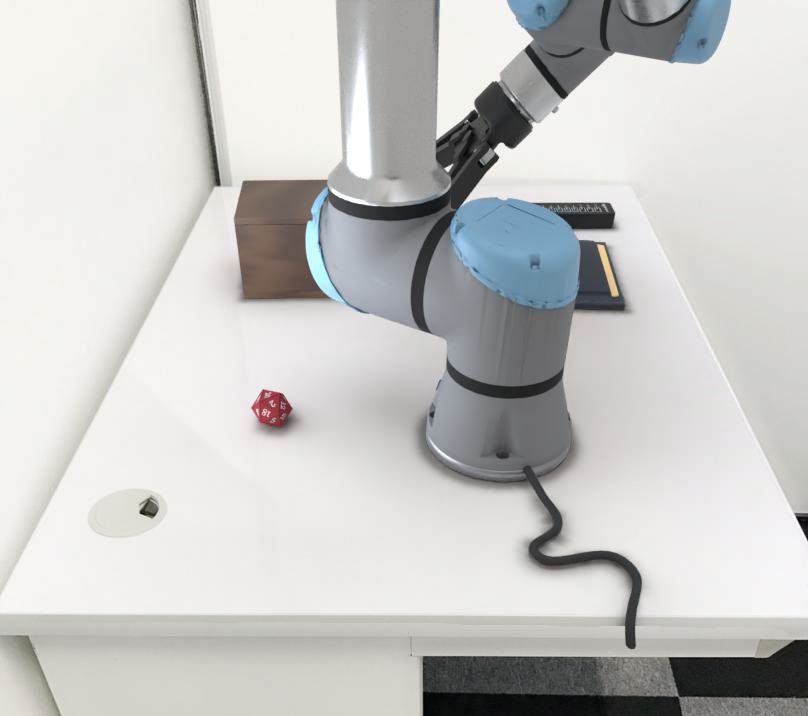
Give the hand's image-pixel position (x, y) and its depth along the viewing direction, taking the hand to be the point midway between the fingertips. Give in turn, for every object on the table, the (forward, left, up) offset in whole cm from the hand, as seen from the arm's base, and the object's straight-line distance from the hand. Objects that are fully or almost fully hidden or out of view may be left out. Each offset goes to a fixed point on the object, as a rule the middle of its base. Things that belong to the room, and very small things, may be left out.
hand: (393, 225), depth 114 cm
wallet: (-16, -17, -7) cm, 24 cm away
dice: (-18, +34, -7) cm, 39 cm away
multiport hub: (-4, -32, -7) cm, 33 cm away
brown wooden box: (+8, +10, -7) cm, 15 cm away
